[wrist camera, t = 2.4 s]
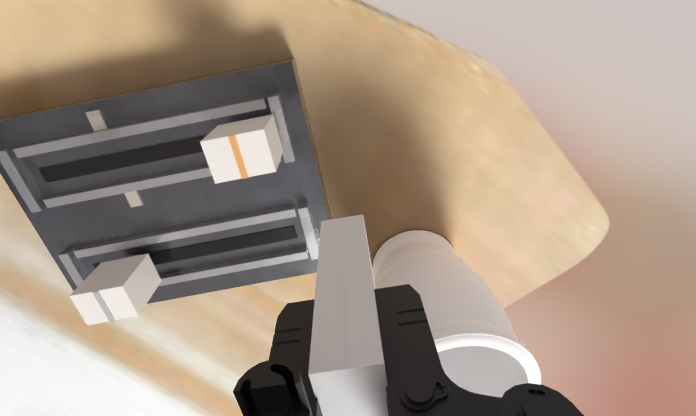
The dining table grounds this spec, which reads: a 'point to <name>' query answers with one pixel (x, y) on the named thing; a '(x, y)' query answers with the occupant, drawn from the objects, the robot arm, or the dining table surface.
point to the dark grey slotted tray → (171, 183)
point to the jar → (457, 313)
